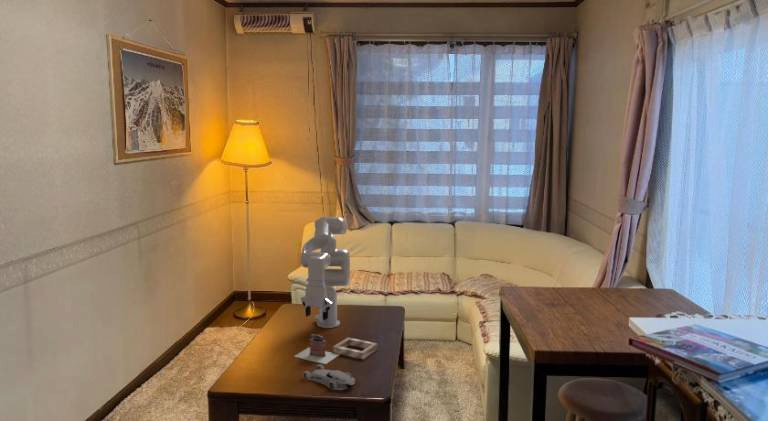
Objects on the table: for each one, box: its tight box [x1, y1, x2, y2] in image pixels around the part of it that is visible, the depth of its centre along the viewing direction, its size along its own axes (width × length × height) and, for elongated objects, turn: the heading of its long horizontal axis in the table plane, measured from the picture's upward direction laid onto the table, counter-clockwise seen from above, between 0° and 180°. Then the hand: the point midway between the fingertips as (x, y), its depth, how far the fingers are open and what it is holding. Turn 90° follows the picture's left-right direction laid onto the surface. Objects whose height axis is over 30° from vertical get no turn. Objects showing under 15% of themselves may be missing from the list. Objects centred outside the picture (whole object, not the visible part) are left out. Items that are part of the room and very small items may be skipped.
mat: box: [293, 347, 341, 365], centre depth 254 cm, size 18×12×1 cm, turn 63°
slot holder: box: [332, 337, 379, 360], centre depth 260 cm, size 17×14×3 cm
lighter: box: [309, 333, 327, 357], centre depth 253 cm, size 8×3×10 cm, turn 70°
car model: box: [302, 363, 356, 391], centre depth 228 cm, size 11×24×5 cm, turn 55°
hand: (316, 317), depth 252 cm, fingers open, 9 cm apart
